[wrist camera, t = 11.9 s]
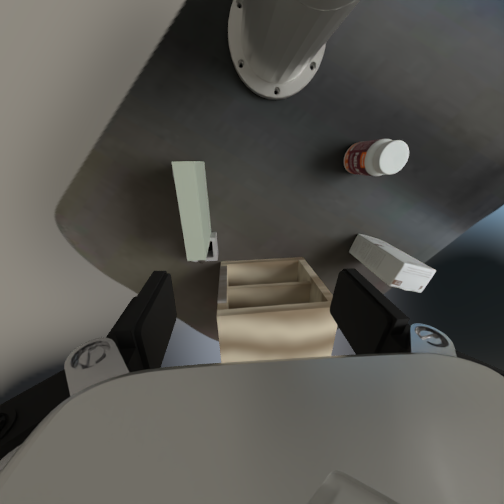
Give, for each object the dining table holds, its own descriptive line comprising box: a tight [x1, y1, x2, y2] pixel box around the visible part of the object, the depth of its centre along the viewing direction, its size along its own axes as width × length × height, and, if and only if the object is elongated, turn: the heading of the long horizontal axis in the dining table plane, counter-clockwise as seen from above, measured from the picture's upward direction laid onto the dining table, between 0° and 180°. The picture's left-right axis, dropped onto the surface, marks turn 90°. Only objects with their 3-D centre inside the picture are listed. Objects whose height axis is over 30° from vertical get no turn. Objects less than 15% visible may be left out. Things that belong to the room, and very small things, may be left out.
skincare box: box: [349, 234, 436, 293], centre depth 35 cm, size 6×4×12 cm
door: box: [172, 161, 218, 262], centre depth 30 cm, size 16×4×10 cm, turn 1°
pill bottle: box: [344, 139, 409, 176], centre depth 30 cm, size 5×5×8 cm
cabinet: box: [198, 257, 337, 363], centre depth 34 cm, size 16×19×15 cm
